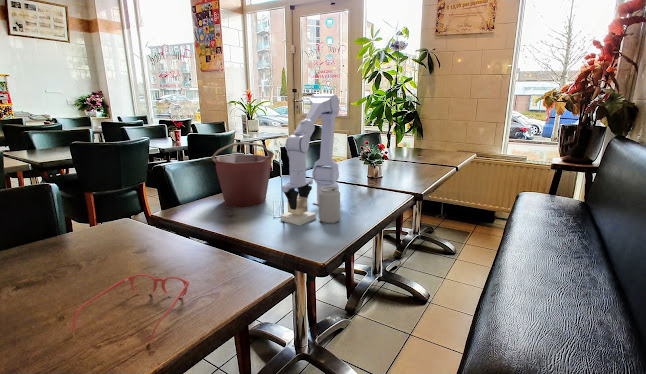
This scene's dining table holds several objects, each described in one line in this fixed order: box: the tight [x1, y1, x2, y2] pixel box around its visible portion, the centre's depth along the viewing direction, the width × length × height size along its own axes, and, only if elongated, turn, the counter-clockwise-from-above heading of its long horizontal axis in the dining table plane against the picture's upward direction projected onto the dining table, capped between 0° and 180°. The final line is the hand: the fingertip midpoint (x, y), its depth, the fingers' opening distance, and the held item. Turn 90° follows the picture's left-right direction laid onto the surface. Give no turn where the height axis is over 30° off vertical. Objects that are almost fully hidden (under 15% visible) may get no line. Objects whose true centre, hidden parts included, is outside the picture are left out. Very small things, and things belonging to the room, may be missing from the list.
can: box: [318, 187, 341, 224], centre depth 123 cm, size 8×8×12 cm
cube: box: [287, 195, 309, 215], centre depth 124 cm, size 5×5×5 cm
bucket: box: [211, 142, 275, 209], centre depth 143 cm, size 24×22×25 cm
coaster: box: [280, 211, 317, 226], centre depth 125 cm, size 9×9×2 cm
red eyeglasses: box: [72, 273, 190, 341], centre depth 69 cm, size 17×16×5 cm
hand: (298, 207), depth 124 cm, fingers closed on cube, 5 cm apart
